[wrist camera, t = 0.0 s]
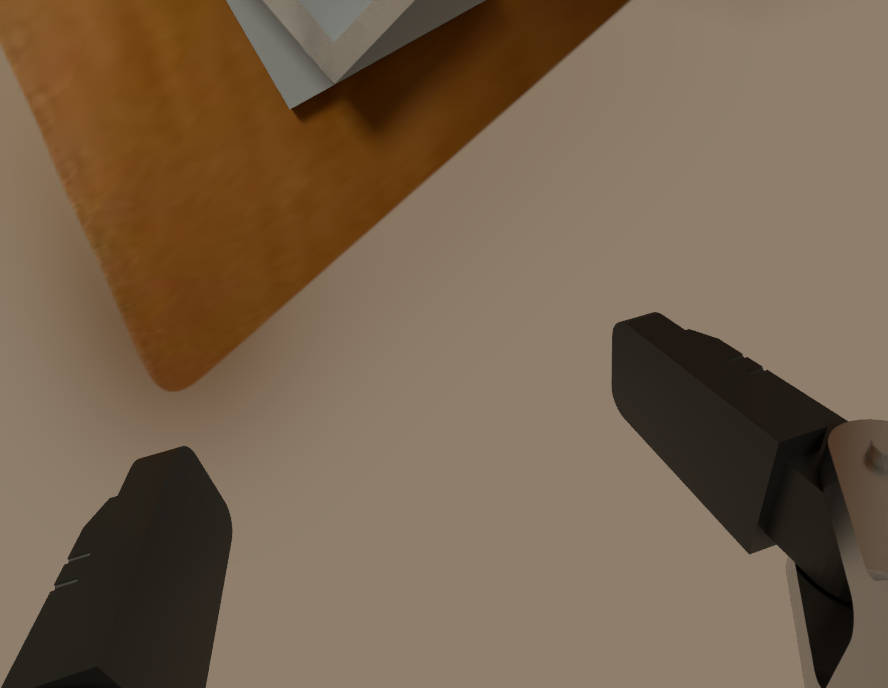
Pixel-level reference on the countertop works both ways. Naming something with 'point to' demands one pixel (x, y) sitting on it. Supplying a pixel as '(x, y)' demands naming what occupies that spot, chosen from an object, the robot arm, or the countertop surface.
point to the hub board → (332, 38)
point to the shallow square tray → (351, 42)
